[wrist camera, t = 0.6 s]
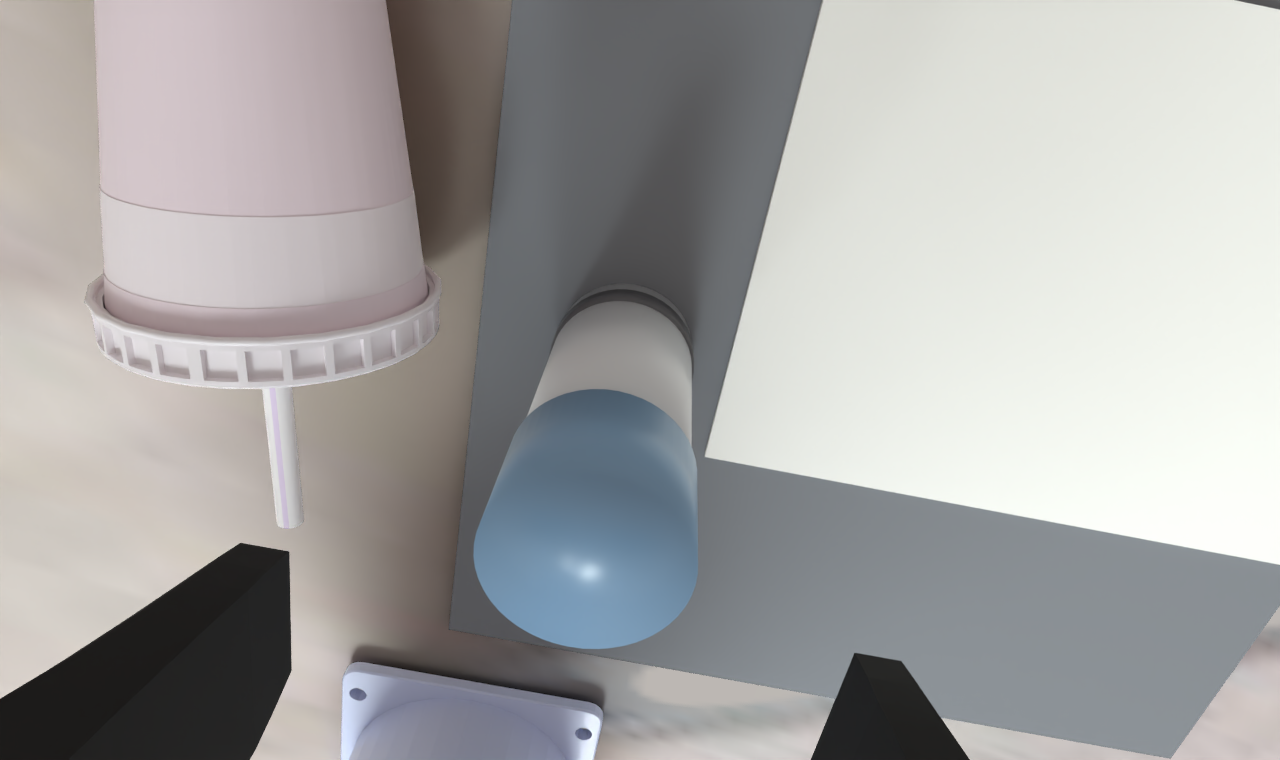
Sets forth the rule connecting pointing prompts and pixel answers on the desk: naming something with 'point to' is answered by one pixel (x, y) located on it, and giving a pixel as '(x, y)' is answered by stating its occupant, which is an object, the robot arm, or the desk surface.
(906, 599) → the desk mat
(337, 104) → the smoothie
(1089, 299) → the paper
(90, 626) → the desk surface
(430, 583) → the desk surface
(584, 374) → the marker
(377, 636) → the desk surface
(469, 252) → the desk surface
